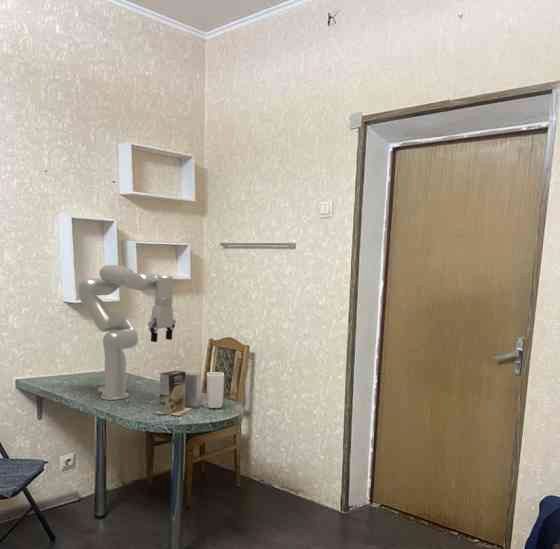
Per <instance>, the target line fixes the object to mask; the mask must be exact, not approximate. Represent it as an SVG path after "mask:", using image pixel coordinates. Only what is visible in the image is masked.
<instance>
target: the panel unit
mask: <svg viewBox="0 0 560 549" xmlns="http://www.w3.org/2000/svg"><path fill="white" fill-rule="evenodd" d="M201 379H202V374H201V373H196V372H195V373H193V372H186V378H185V408H191V409H192V408H195V410H199V409H201V408H202V407H203V406H204V404H203V403H201V397H202V396H201V392H202V391H201V389H202V386H201V385H202V380H201Z"/></svg>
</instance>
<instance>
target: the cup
mask: <svg viewBox="0 0 560 549" xmlns="http://www.w3.org/2000/svg"><path fill="white" fill-rule="evenodd" d="M224 388H225V373H224V372H222V371H221V372H220V371H214V372H213V371H211V372H207V374H206V393H207V394H206V396H207V397H206V398H207V407H208V409H213V408H215V409H222V407H223V402H224V401H223V400H224V390H225V389H224Z"/></svg>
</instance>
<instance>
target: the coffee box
mask: <svg viewBox="0 0 560 549" xmlns="http://www.w3.org/2000/svg"><path fill="white" fill-rule="evenodd" d="M186 373H187V372H186V371H181V370H171V371H167V372H165V371H164V372H161V373H159V374H160V375H159V376H160V377H159V378H160V379H159V409H158V410H159V411H161V412H165V413H173V412H176V411H180V410H183V409H185V378H186Z"/></svg>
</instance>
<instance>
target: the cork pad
mask: <svg viewBox="0 0 560 549" xmlns="http://www.w3.org/2000/svg"><path fill="white" fill-rule="evenodd" d="M190 410H191V411H192V408H185V409H183V410H180V411H176V412H173V413H165V412H161V411H159V409H158V410H157V411H154V412H153V415H156V414H158V415H159V416H166V415H171V416H170V417H176V416H180V417H182V416H184V415H186V414H187V413H189V412H191V411H190ZM188 411H189V412H188ZM183 414H184V415H183ZM181 415H182V416H181Z"/></svg>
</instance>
